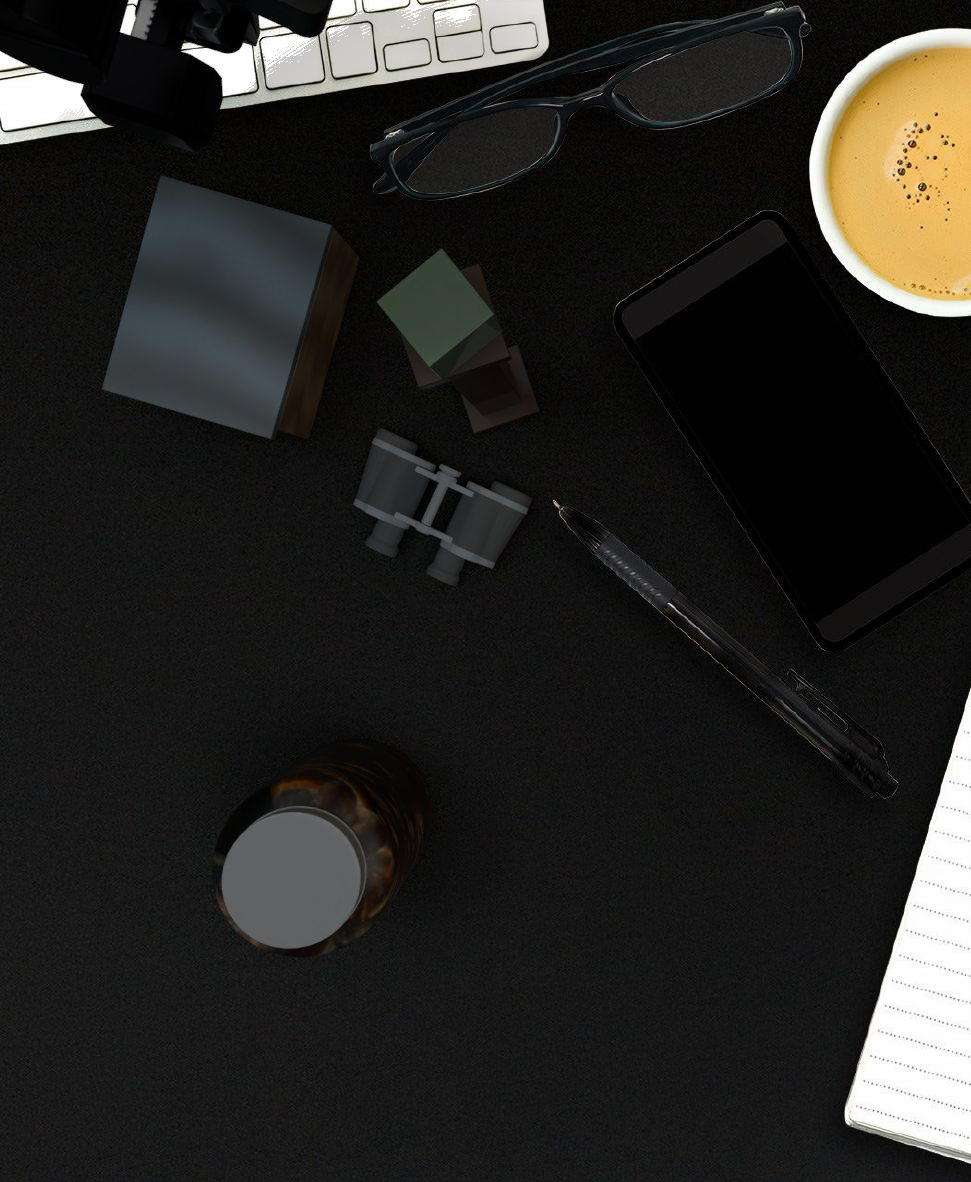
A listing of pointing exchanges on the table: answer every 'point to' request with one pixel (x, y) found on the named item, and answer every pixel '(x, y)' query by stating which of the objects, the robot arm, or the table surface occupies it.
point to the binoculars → (435, 508)
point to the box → (319, 339)
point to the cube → (441, 315)
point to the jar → (322, 848)
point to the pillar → (485, 375)
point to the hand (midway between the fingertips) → (250, 38)
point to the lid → (218, 307)
